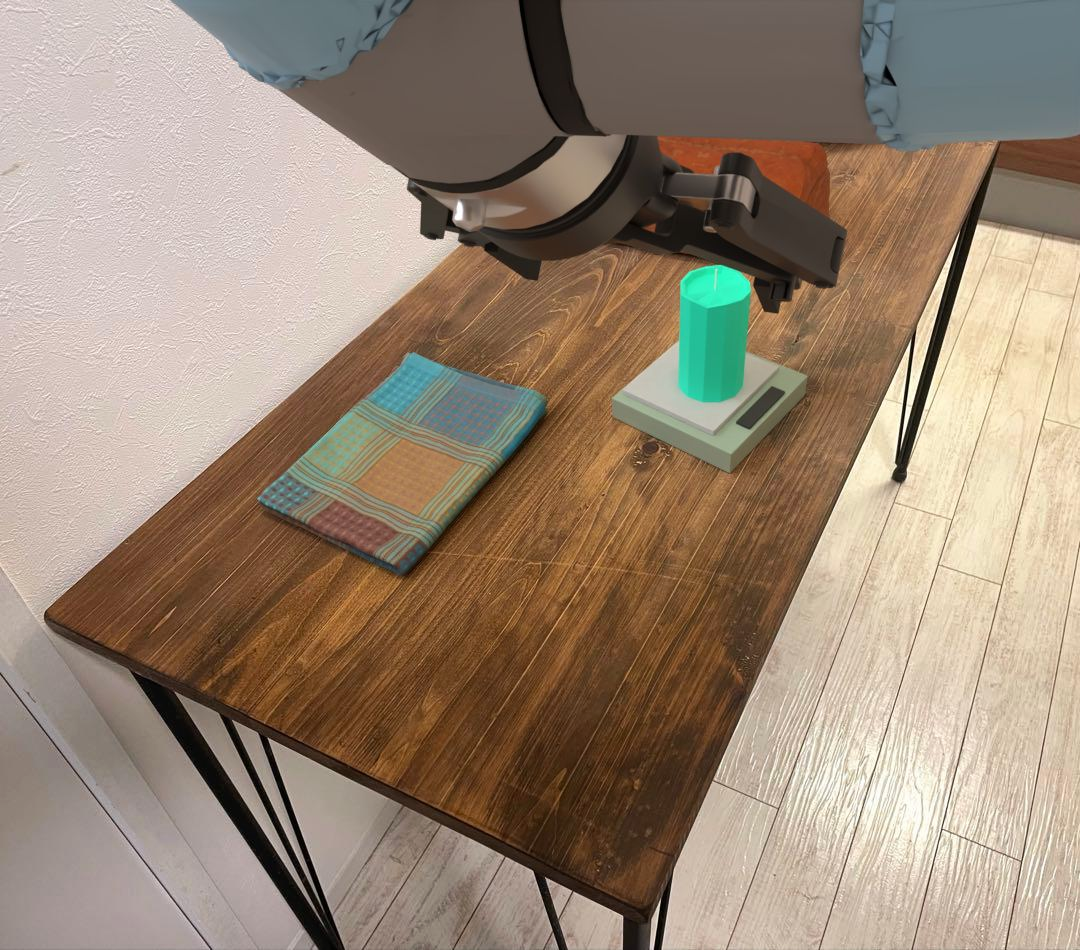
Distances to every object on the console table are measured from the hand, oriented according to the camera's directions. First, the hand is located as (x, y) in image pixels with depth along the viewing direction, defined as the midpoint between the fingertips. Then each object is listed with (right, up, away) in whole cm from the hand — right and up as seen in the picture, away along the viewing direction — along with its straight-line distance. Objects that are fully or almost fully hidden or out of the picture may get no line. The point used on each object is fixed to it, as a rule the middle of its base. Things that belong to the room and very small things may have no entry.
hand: (651, 271), depth 50 cm
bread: (+14, +18, +59) cm, 63 cm away
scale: (+10, -5, +36) cm, 38 cm away
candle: (+10, -3, +34) cm, 36 cm away
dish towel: (-18, -10, +35) cm, 40 cm away
